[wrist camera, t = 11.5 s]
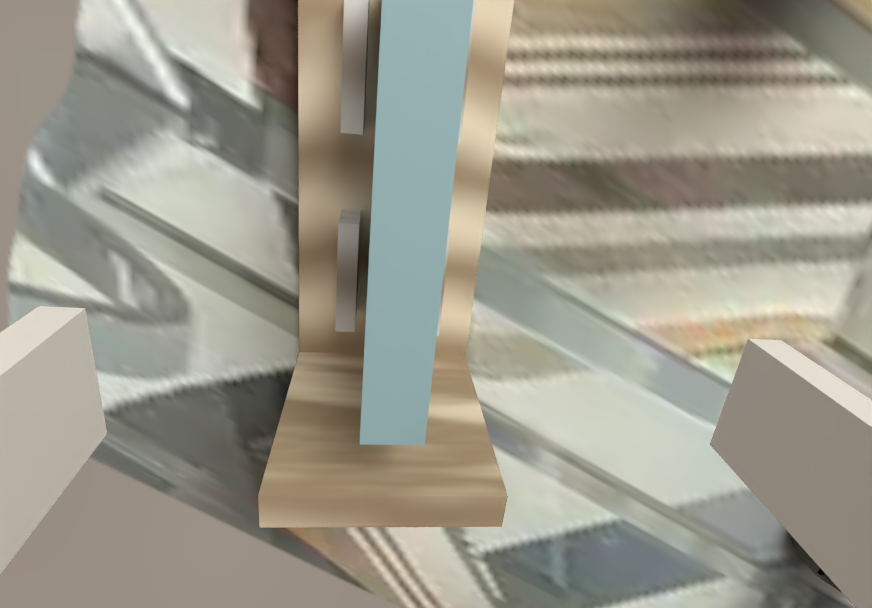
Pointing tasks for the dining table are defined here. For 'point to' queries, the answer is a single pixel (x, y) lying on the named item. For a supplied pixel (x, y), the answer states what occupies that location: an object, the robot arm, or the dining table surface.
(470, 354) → the dining table surface
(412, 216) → the door
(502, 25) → the hinge base
